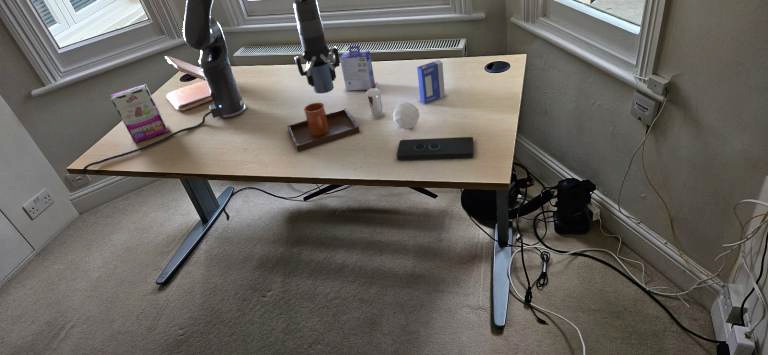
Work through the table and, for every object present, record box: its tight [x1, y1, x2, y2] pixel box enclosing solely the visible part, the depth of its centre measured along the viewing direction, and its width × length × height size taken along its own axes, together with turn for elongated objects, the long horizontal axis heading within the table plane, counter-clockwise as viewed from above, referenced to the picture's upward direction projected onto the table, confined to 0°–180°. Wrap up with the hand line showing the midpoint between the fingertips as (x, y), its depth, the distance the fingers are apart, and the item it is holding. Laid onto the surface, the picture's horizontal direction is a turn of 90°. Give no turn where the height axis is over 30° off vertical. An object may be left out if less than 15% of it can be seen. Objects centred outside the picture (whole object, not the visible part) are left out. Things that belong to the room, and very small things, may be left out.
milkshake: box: [365, 81, 384, 119], centre depth 145 cm, size 5×5×10 cm
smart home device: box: [396, 136, 474, 161], centre depth 126 cm, size 8×2×20 cm
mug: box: [303, 102, 329, 136], centre depth 140 cm, size 8×6×8 cm
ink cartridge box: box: [339, 45, 376, 92], centre depth 163 cm, size 10×6×14 cm, turn 78°
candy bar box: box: [110, 83, 169, 144], centre depth 155 cm, size 11×5×16 cm, turn 117°
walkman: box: [416, 59, 446, 105], centre depth 148 cm, size 8×3×12 cm, turn 116°
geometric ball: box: [392, 101, 420, 130], centre depth 137 cm, size 8×8×8 cm
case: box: [164, 55, 213, 112], centre depth 178 cm, size 20×21×16 cm
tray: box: [287, 108, 361, 153], centre depth 143 cm, size 19×14×2 cm
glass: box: [310, 62, 335, 94], centre depth 151 cm, size 6×6×9 cm
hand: (322, 82), depth 153 cm, fingers closed on glass, 6 cm apart
